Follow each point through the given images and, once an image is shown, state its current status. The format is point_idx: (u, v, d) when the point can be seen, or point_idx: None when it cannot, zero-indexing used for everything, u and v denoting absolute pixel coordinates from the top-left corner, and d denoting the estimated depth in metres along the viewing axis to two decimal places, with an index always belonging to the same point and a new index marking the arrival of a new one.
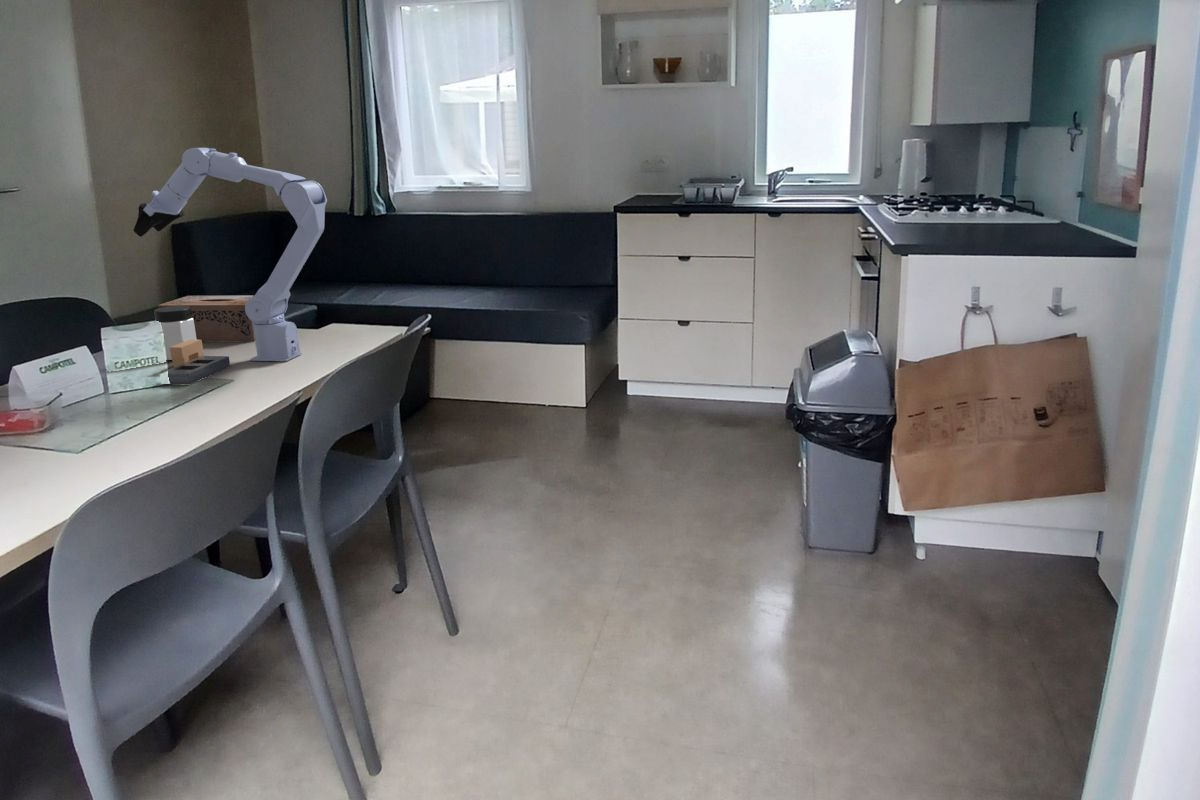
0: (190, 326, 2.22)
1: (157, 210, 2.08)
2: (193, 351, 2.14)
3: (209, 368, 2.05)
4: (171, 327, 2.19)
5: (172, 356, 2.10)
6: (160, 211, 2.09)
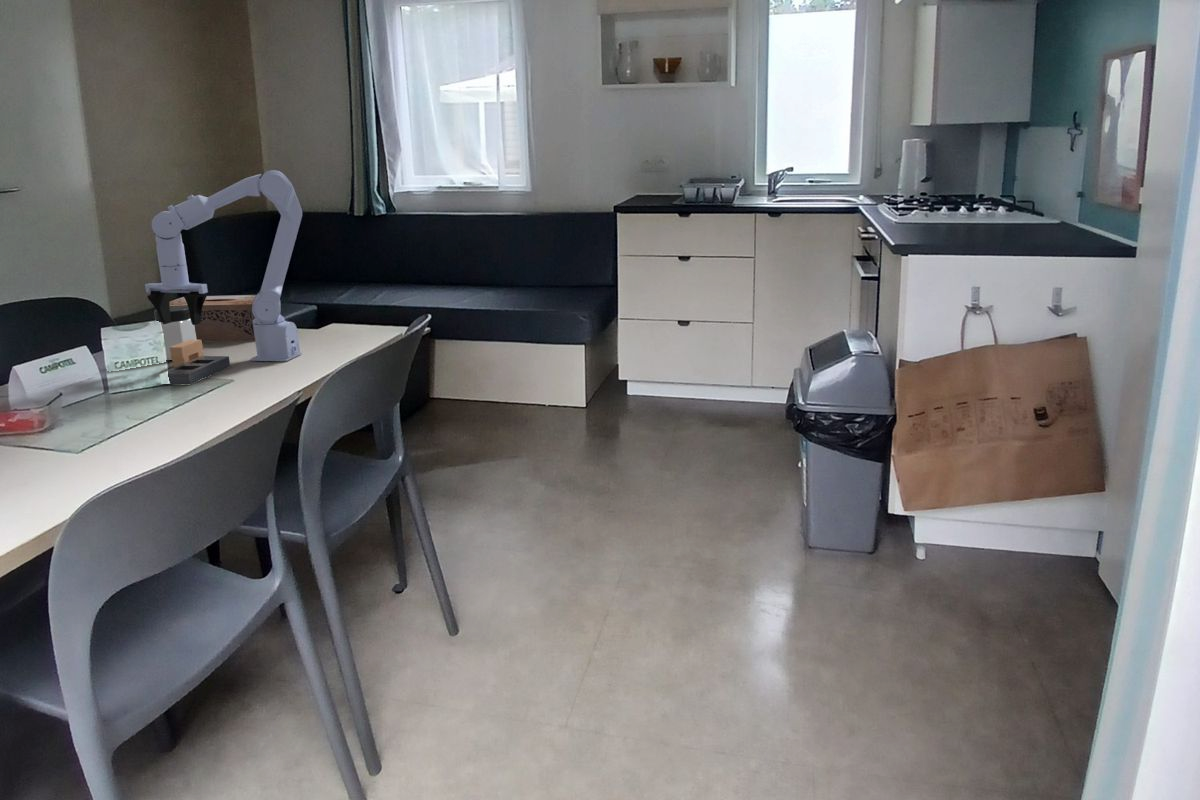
0: (190, 326, 2.22)
1: None
2: (193, 351, 2.14)
3: (209, 368, 2.05)
4: (171, 327, 2.19)
5: (172, 356, 2.10)
6: None
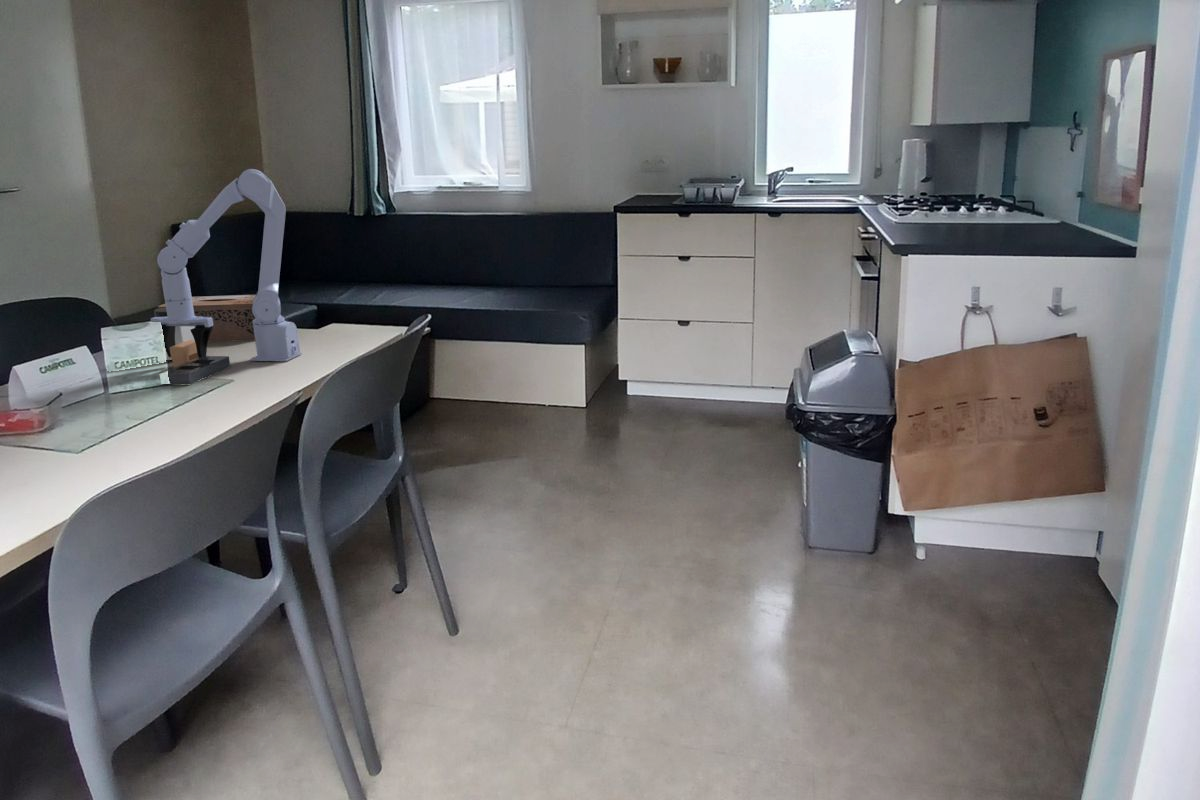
0: (190, 326, 2.22)
1: None
2: (193, 351, 2.14)
3: (209, 368, 2.05)
4: None
5: (172, 356, 2.10)
6: None
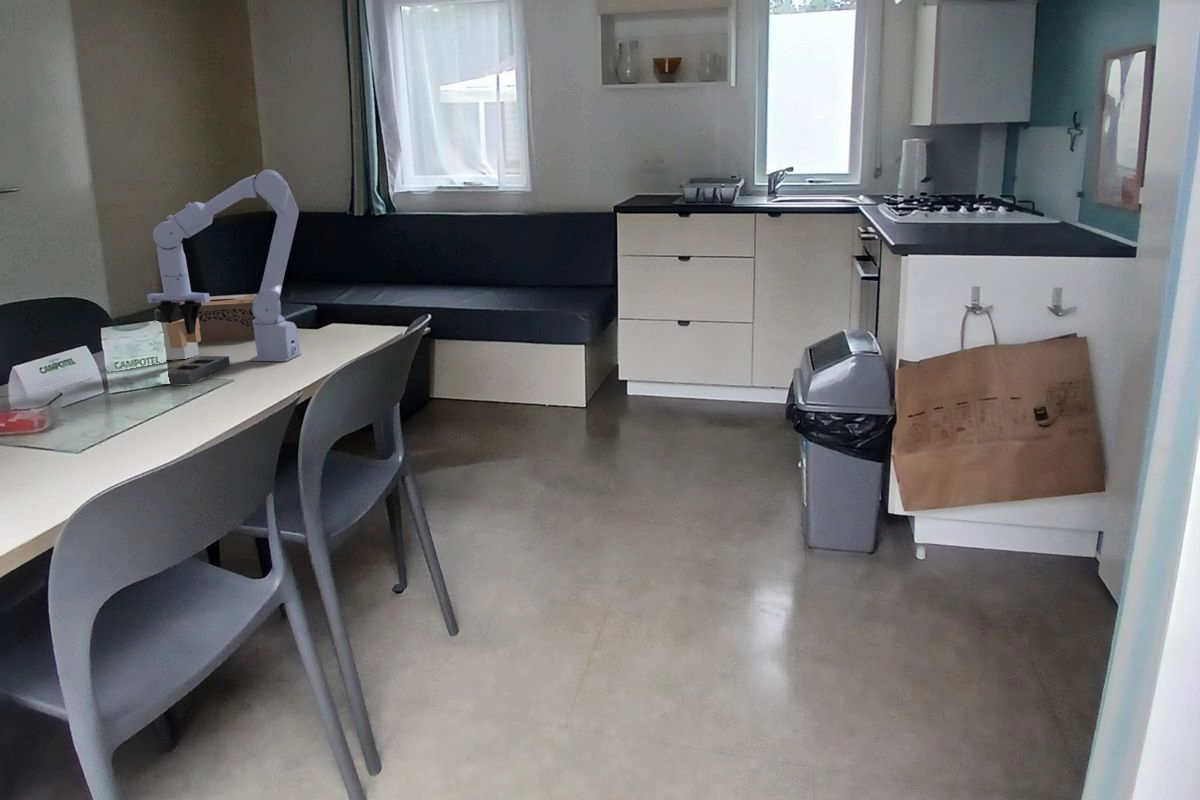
0: None
1: None
2: None
3: (209, 368, 2.05)
4: None
5: (169, 333, 2.09)
6: None
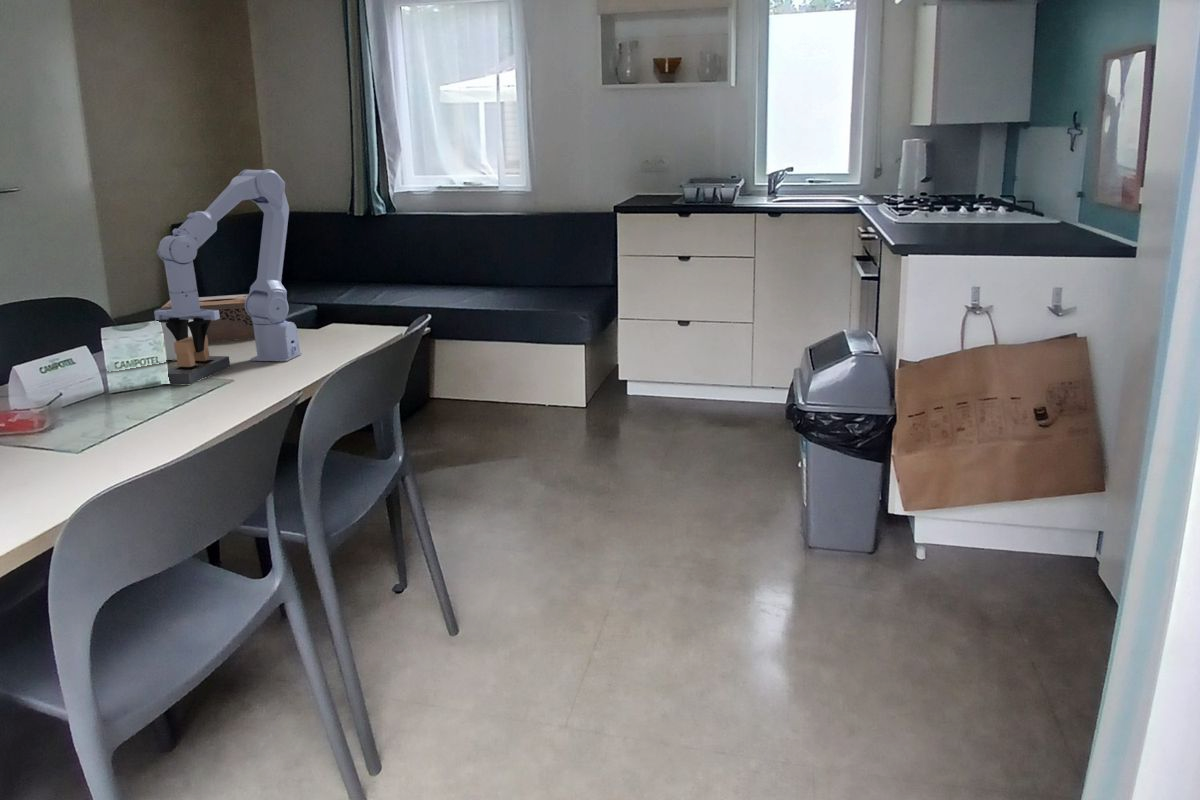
0: None
1: None
2: None
3: (209, 368, 2.05)
4: None
5: (176, 352, 2.01)
6: None
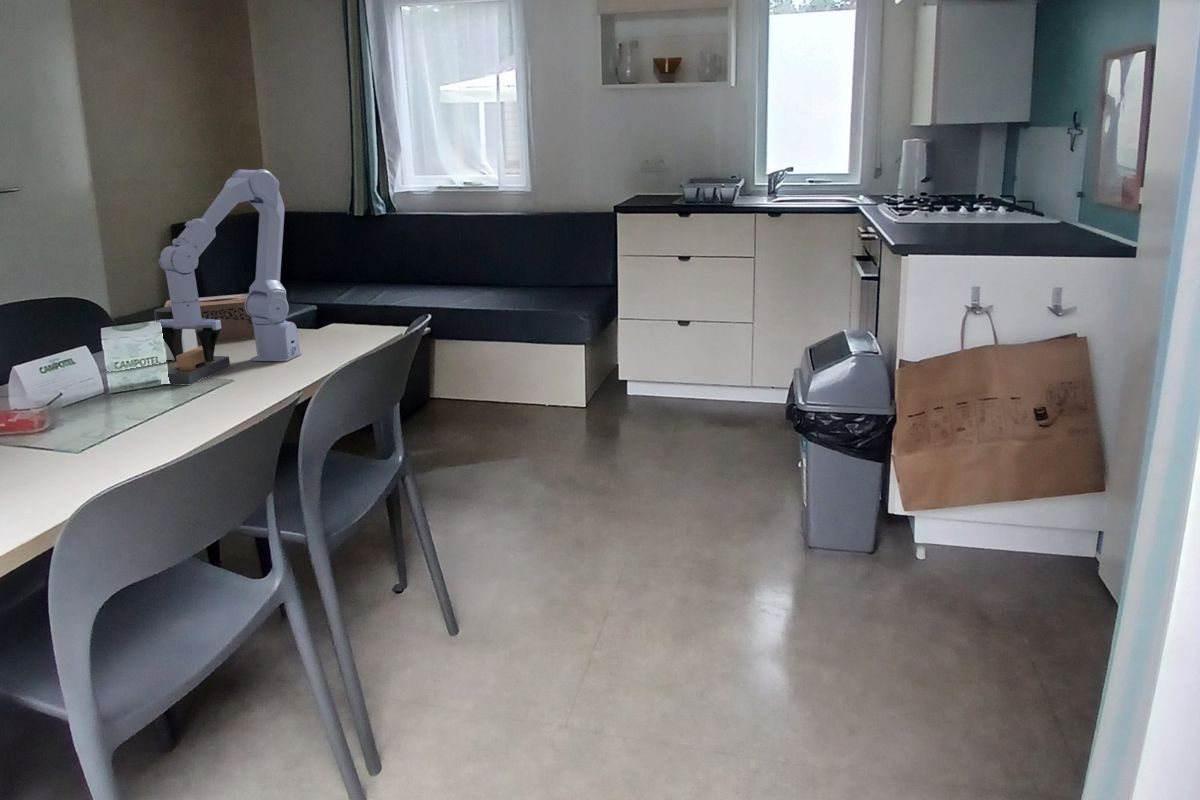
0: None
1: None
2: (200, 360, 2.05)
3: (209, 368, 2.05)
4: None
5: (178, 365, 2.01)
6: None
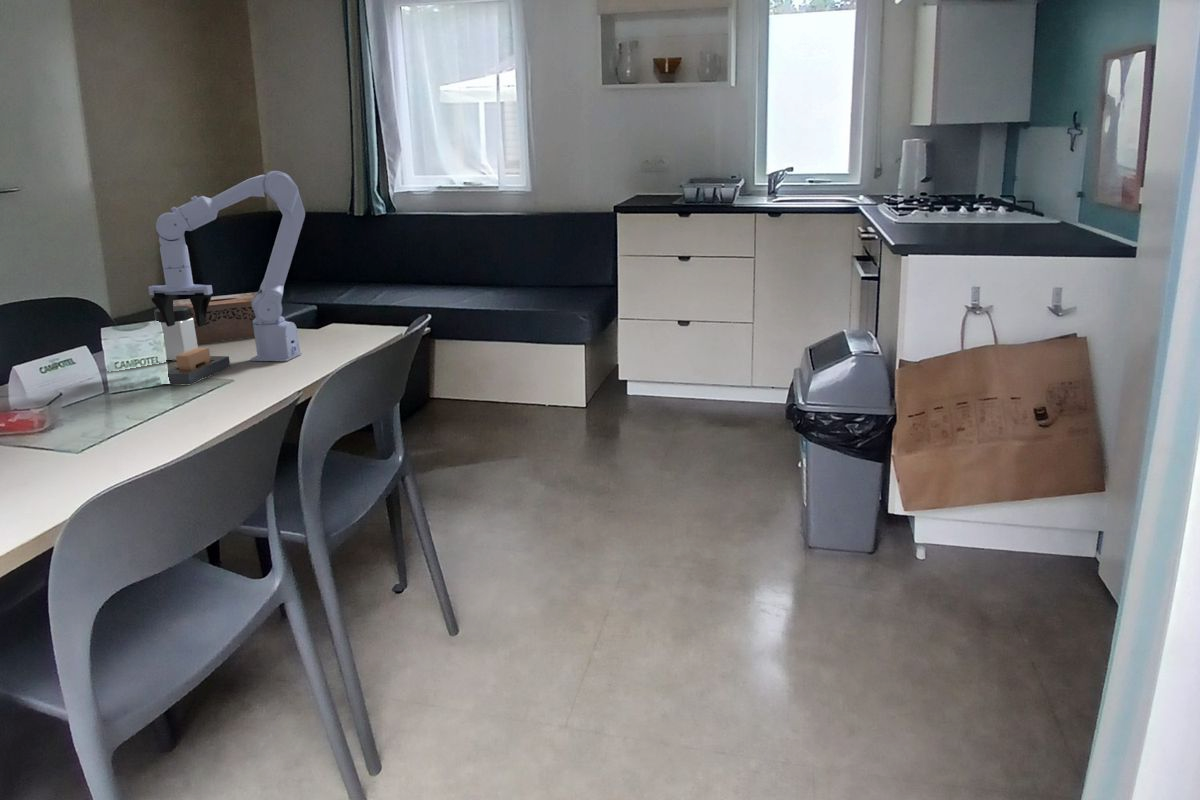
0: (190, 326, 2.22)
1: None
2: (200, 360, 2.05)
3: (209, 368, 2.05)
4: (171, 327, 2.19)
5: (178, 365, 2.01)
6: None
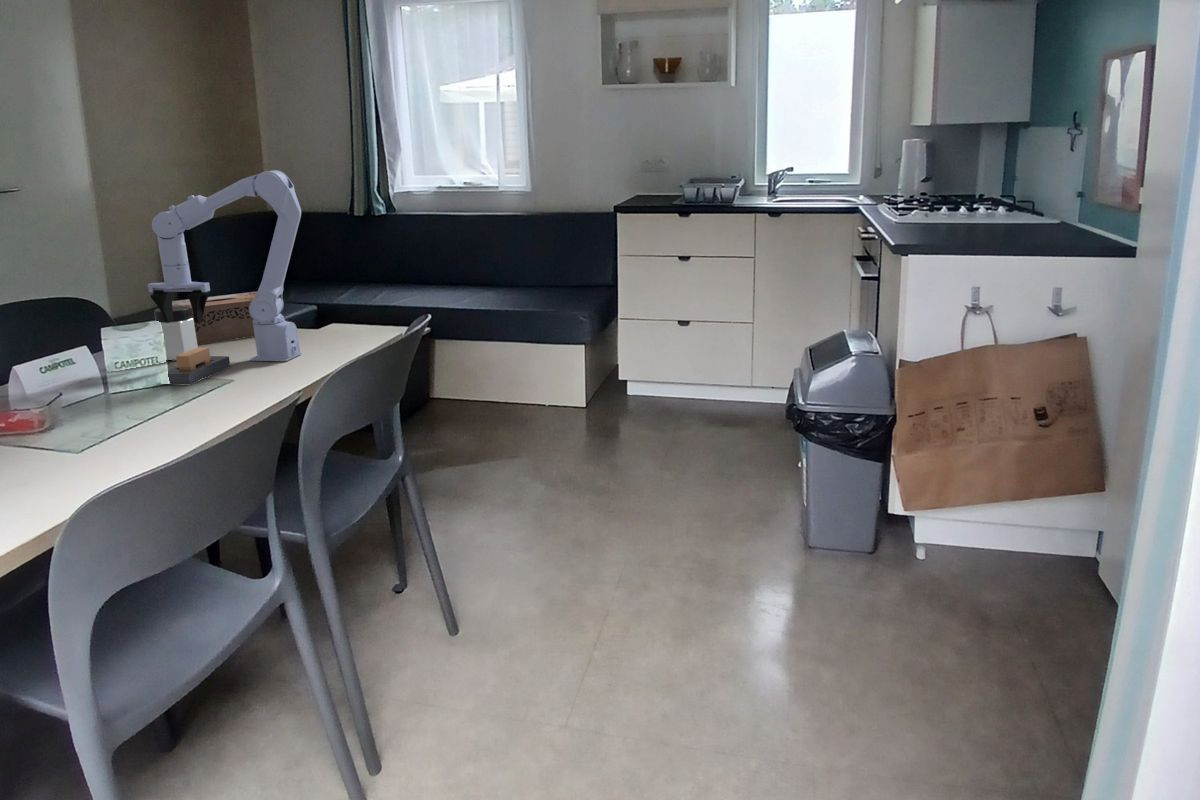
0: (190, 326, 2.22)
1: None
2: (200, 360, 2.05)
3: (209, 368, 2.05)
4: (171, 327, 2.19)
5: (178, 365, 2.01)
6: None
